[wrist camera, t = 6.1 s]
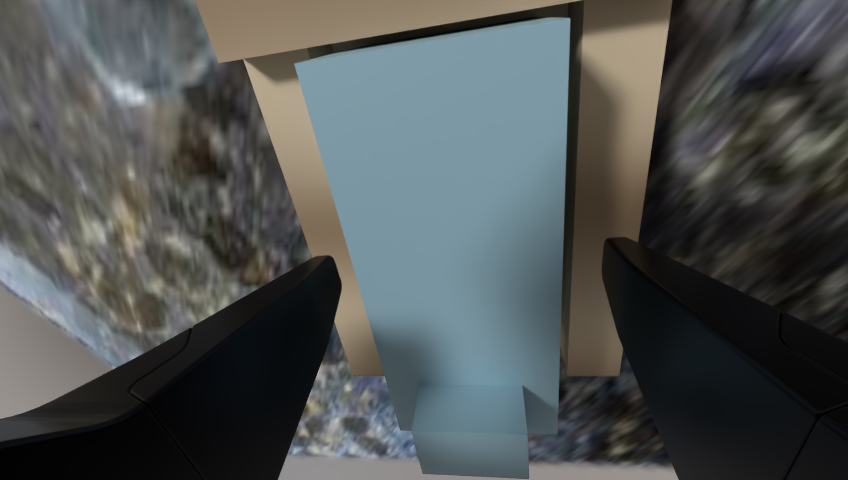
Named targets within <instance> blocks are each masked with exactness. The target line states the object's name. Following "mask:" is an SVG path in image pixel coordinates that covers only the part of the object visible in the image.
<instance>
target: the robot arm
mask: <svg viewBox="0 0 848 480" xmlns="http://www.w3.org/2000/svg"><path fill="white" fill-rule="evenodd" d="M601 272H602V280H603V283H604V287H605V291H606V294H607V298H608V302H609V305H610V309H611V312H612V316H613V320H614V323H615V327H616V330H617V334H618V337H619V339H620V342H621V344H622V347H623V349H624V352H625V354H626V356H627V359H628V361H629V363H630V366H631V368H632V371H633V373H634V375H635V378H636V380H637V382H638V385H639V387H640V389H641V392H642V394H643V397H644V399H645V401H646V404H647V406H648V408H649V411H650V413H651V415H652V418H653V420H654V422H655V425H656V427H657V430H658V432H659V434H660V437H661V439H662V441H663V444H664V446H665V448H666V451H667V453H668V456H669V458H670V460H671V463H672V465H673V467H674V470H675V472H676V474H677V477H678V479H679V480H848V342H847V341H845V340H843V339H841V338H839V337H836V336H834V335H832V334H830V333H828V332H826V331H823V330H821V329H819V328H817V327H815V326H812V325H810V324H808V323H806V322H804V321H802V320H800V319H798V318H796V317H794V316H791V315H789V314H787V313H784V312H783V313H781V311H780V310H779V309H777V308H774V307H772V306H770V305H768V304H766V303H764V302H762V301H760V300H758V299H756V298H753V297H751V296H749V295H747V294H745V293H743V292H741V291H739V290H737V289H735V288H732V287H730V286H728V285H726V284H724V283H722V282H720V281H718V280H716V279H714V278H711V277H709V276H707V275H705V274H703V273H701V272H699V271H697V270H695V269H693V268H690V267H688V266H686V265H684V264H682V263H680V262H678V261H676V260H674V259H671V258H669V257H667V256H665V255H663V254H661V253H659V252H657V251H655V250H653V249H650V248H648V247H646V246H644V245H642V244H640V243H638V242H636V241H634V240H632V239H629V238H627V237H609V238H607V239H606V240H605V241H604V246H603V257H602V269H601ZM341 291H342V282H341V279H340V275H339V272H338V269H337V266H336V263H335V260H334V258H333V257H332V256H330V255H322V256H315V257H313V258H311V259H310V260H308V261H306V262H304V263H303V264H301V265H299V266H297V267H296V268H294V269H292V270H290V271H289V272H287V273H285V274H283V275H282V276H280V277H278V278H276V279H275V280H273V281H271V282H269V283H268V284H266V285H264V286H262V287H261V288H259V289H257V290H255V291H254V292H252V293H250V294H248V295H247V296H245V297H243V298H241V299H240V300H238V301H236V302H234V303H233V304H231V305H229V306H227V307H226V308H224V309H222V310H220V311H219V312H217V313H215V314H213V315H212V316H210V317H208V318H206V319H205V320H203V321H201V322H199V323H198V324H196V325H194V326H193V328H189V329H187V330H185V331H183V332H182V333H180V334H178V335H176V336H175V337H173V338H171V339H169V340H168V341H166V342H164V343H162V344H160V345H159V346H157V347H155V348H153V349H151V350H150V351H148V352H146V353H144V354H142V355H140V356H138V357H136V358H134V359H132V360H131V361H129V362H127V363H125V364H123V365H121V366H119V367H117V368H115V369H113V370H111V371H109V372H107V373H105V374H103V375H102V376H100V377H98V378H96V379H94V380H92V381H90V382H88V383H86V384H84V385H82V386H80V387H78V388H76V389H74V390H72V391H70V392H68V393H67V394H64V395H63V396H61V397H59V398H57V399H55V400H53V401H51V402H49V403H46V404H44V405H42V406H40V407H38V408H35V409H33V410H30V411H27V412H25V413H22V414H18V415H15V416H11V417H7V418H3V419H0V480H278V478H279V475H280V472H281V470H282V467H283V464H284V462H285V459H286V456H287V454H288V451H289V448H290V445H291V443H292V440H293V437H294V435H295V432H296V429H297V427H298V424H299V421H300V419H301V416H302V413H303V411H304V408H305V405H306V402H307V400H308V397H309V394H310V392H311V389H312V386H313V384H314V381H315V378H316V376H317V373H318V370H319V368H320V365H321V362H322V359H323V357H324V354H325V351H326V349H327V346H328V343H329V340H330V336H331V332H332V328H333V324H334V320H335V316H336V312H337V308H338V304H339V300H340V296H341Z"/></svg>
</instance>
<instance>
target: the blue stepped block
mask: <svg viewBox="0 0 848 480" xmlns="http://www.w3.org/2000/svg"><path fill="white" fill-rule="evenodd" d="M569 47H570V18H557V17H530V18H524V19H518V20H512V21H506V22H500V23H495V24H489V25H483V26H477V27H471V28H465V29H459V30H453V31H447V32H441V33H435V34H429V35H424V36H418V37H412V38H406V39H400V40H394V41H388V42H382V43H376V44H370V45H364V46H360V47H356V48H352V49H349V50H345V51H341V52H337V53H333V54H329V55H326V56H322V57H318V58H314V59H310V60H306V61H303V62H299V63H295V64H294V65H295V68H296V72H297V75H298V79H299V82H300V86H301V89H302V92H303V96H304V99H305V103H306V106H307V110H308V113H309V117H310V120H311V123H312V127H313V130H314V134H315V137H316V141H317V144H318V148H319V151H320V155H321V158H322V161H323V165H324V168H325V172H326V175H327V179H328V182H329V186H330V189H331V192H332V196H333V199H334V203H335V206H336V210H337V213H338V217H339V220H340V223H341V227H342V230H343V234H344V237H345V241H346V244H347V248H348V251H349V255H350V258H351V261H352V265H353V268H354V272H355V275H356V279H357V282H358V286H359V289H360V292H361V296H362V299H363V303H364V306H365V310H366V313H367V317H368V320H369V324H370V327H371V330H372V334H373V337H374V341H375V344H376V348H377V351H378V355H379V358H380V361H381V365H382V368H383V372H384V375H385V379H386V382H387V386H388V389H389V392H390V396H391V399H392V403H393V406H394V410H395V413H396V417H397V420H398V424H399V427H400V430H407V431H412V435H413V439H414V443H415V446H416V450H417V454H418V458H419V461H420V465H421V469H422V472H423V474H439V475H440V474H441V475H460V476H480V477H500V478H520V479H529V461H528V434H551V435H557V432H558V400H559V368H560V336H561V304H562V272H563V240H564V208H565V176H566V143H567V111H568V79H569Z"/></svg>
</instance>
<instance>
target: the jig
mask: <svg viewBox="0 0 848 480" xmlns="http://www.w3.org/2000/svg"><path fill="white" fill-rule="evenodd" d="M195 1H196V4H197V7H198V9H199V12H200V15H201V17H202V20H203V23H204V25H205V28H206V31H207V33H208V36H209V39H210V41H211V44H212V46H213V49H214V52H215V54H216V57H217V60H218V62H219V63H222V62H228V61H234V60H240V59H243V60H244V63H245V65H246V68H247V71H248V74H249V77H250V80H251V83H252V86H253V88H254V91H255V94H256V97H257V100H258V103H259V106H260V109H261V111H262V114H263V117H264V120H265V123H266V126H267V129H268V132H269V134H270V137H271V140H272V143H273V146H274V149H275V152H276V155H277V158H278V160H279V163H280V166H281V169H282V172H283V175H284V178H285V181H286V183H287V186H288V189H289V192H290V195H291V198H292V201H293V204H294V206H295V209H296V212H297V215H298V218H299V221H300V224H301V227H302V229H303V232H304V235H305V238H306V241H307V244H308V247H309V250H310V252H311V255H312V258H313V257H315V256H322V255H330V256H332V257H333V258H334V260H335V263H336V266H337V269H338V272H339V275H340V279H341V282H342V291H341V296H340V300H339V304H338V308H337V312H336V316H335V320H334V321H335V324H336V327H337V330H338V333H339V336H340V339H341V342H342V345H343V347H344V350H345V353H346V356H347V359H348V362H349V365H350V368H351V370H352V373H353V376H385V375H384V372H383V368H382V365H381V361H380V358H379V355H378V351H377V348H376V344H375V341H374V337H373V334H372V330H371V327H370V324H369V320H368V317H367V313H366V310H365V306H364V303H363V299H362V296H361V292H360V289H359V286H358V282H357V279H356V275H355V272H354V268H353V265H352V261H351V258H350V255H349V251H348V248H347V244H346V241H345V237H344V234H343V230H342V227H341V223H340V220H339V217H338V213H337V210H336V206H335V203H334V199H333V196H332V192H331V189H330V186H329V182H328V179H327V175H326V172H325V168H324V165H323V161H322V158H321V155H320V151H319V148H318V144H317V141H316V137H315V134H314V130H313V127H312V123H311V120H310V117H309V113H308V110H307V106H306V103H305V99H304V96H303V92H302V89H301V86H300V82H299V79H298V75H297V72H296V68H295V65H294V64H295V63H299V62H303V61H306V60H310V59H314V58H318V57H322V56H326V55H329V54H333V53H337V52H341V51H345V50H349V49H352V48H356V47H360V46H364V45H370V44H376V43H382V42H388V41H394V40H400V39H406V38H412V37H418V36H424V35H429V34H435V33H441V32H447V31H453V30H459V29H465V28H471V27H477V26H483V25H489V24H495V23H500V22H506V21H512V20H518V19H524V18H530V17H557V18H570V47H569V79H568V111H567V143H566V176H565V208H564V240H563V272H562V304H561V336H560V348H561V352H562V356H563V361H564V365H565V369H566V373H567V376H619V374H620V367H621V360H622V353H623V347H622V344H621V342H620V339H619V337H618V334H617V330H616V327H615V323H614V320H613V316H612V312H611V309H610V305H609V302H608V298H607V294H606V291H605V287H604V283H603V280H602V272H601V269H602V257H603V246H604V241H605V240H606V239H607V238H609V237H627V238H629V239H632V240H634V241H636V242H638V240H639V233H640V226H641V218H642V211H643V204H644V197H645V190H646V183H647V176H648V169H649V162H650V155H651V148H652V141H653V134H654V126H655V119H656V112H657V105H658V98H659V91H660V84H661V77H662V70H663V63H664V56H665V49H666V42H667V34H668V27H669V20H670V13H671V6H672V0H195Z"/></svg>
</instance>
